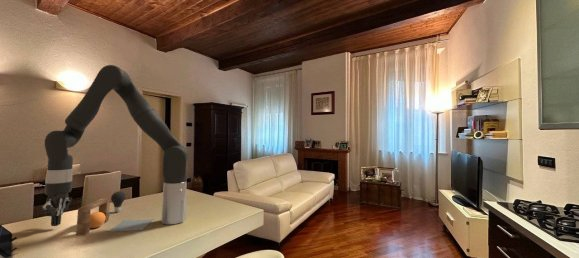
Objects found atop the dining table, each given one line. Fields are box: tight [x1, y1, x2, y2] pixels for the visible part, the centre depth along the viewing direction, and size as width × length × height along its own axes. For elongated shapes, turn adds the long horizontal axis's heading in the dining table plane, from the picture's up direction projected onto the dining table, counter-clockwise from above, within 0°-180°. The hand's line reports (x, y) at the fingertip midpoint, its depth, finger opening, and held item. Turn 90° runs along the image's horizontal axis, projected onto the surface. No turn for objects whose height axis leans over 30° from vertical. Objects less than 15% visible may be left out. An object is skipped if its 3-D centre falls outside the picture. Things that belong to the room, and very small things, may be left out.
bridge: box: [75, 197, 111, 236], centre depth 92 cm, size 3×15×10 cm, turn 12°
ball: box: [89, 211, 106, 229], centre depth 92 cm, size 6×6×6 cm
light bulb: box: [110, 191, 126, 213], centre depth 111 cm, size 6×6×10 cm
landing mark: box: [107, 218, 155, 233], centre depth 94 cm, size 12×12×1 cm
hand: (55, 225), depth 89 cm, fingers closed
